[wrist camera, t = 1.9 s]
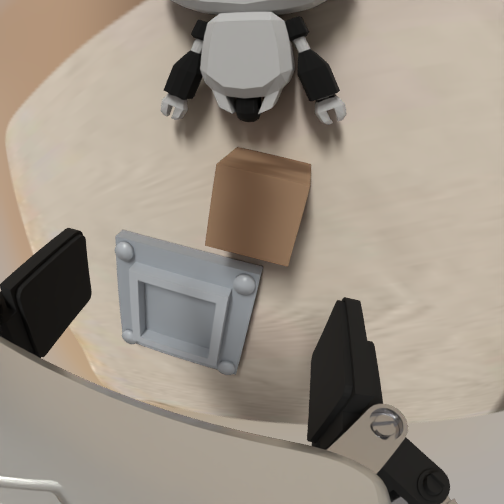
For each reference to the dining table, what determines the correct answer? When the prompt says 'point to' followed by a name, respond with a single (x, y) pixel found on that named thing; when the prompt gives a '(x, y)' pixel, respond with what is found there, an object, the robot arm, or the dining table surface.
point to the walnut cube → (257, 205)
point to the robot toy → (250, 59)
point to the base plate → (185, 300)
